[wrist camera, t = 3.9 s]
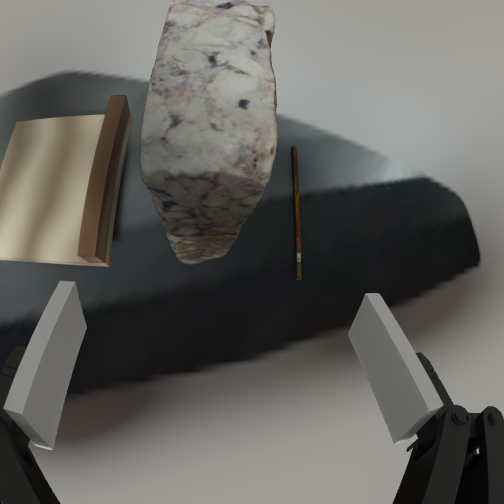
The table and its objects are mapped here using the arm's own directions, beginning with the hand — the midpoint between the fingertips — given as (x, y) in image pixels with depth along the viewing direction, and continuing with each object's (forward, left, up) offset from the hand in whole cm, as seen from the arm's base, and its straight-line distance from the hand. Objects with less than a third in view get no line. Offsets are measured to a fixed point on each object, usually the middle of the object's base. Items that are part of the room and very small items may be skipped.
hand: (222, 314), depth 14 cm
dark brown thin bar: (+9, +11, -17) cm, 22 cm away
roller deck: (-16, +12, -16) cm, 26 cm away
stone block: (-1, +12, -17) cm, 20 cm away
